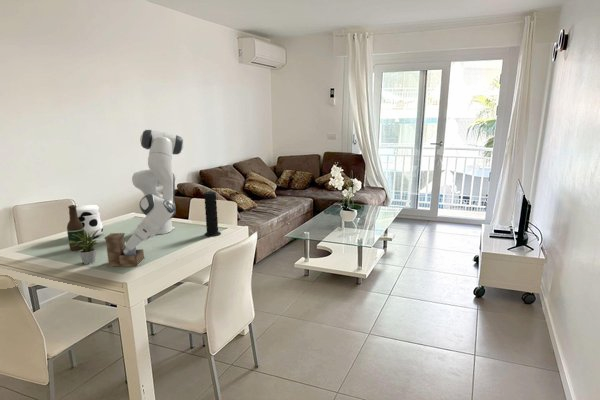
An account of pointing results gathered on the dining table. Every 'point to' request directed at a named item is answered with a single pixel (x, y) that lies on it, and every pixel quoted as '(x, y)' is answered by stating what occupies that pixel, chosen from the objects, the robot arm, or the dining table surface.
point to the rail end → (132, 252)
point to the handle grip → (211, 214)
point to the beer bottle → (74, 228)
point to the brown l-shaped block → (121, 251)
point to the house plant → (86, 247)
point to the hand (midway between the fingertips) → (128, 248)
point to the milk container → (90, 219)
